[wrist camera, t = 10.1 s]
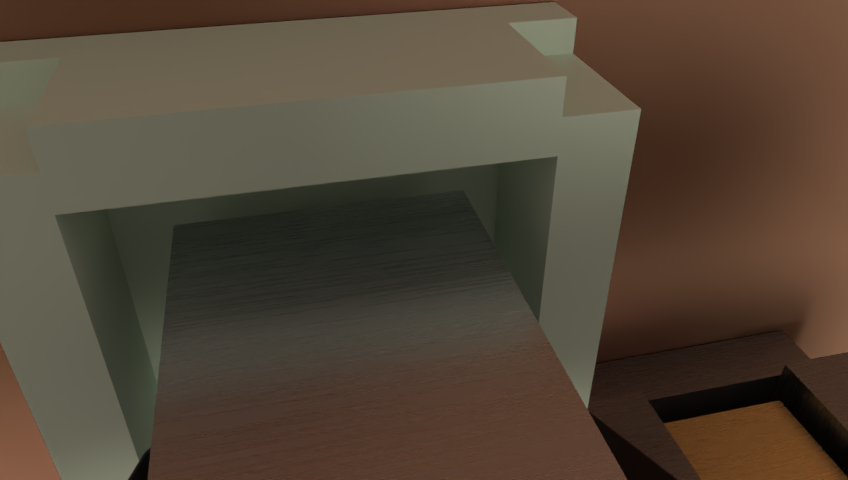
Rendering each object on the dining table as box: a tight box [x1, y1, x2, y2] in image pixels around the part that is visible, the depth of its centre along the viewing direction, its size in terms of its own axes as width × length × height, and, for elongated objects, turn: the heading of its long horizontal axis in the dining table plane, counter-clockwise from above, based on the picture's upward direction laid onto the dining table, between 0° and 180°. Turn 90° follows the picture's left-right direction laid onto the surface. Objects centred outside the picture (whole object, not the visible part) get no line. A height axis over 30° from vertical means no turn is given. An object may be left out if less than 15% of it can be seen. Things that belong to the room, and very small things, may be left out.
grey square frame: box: [0, 2, 641, 480], centre depth 11 cm, size 8×8×3 cm
